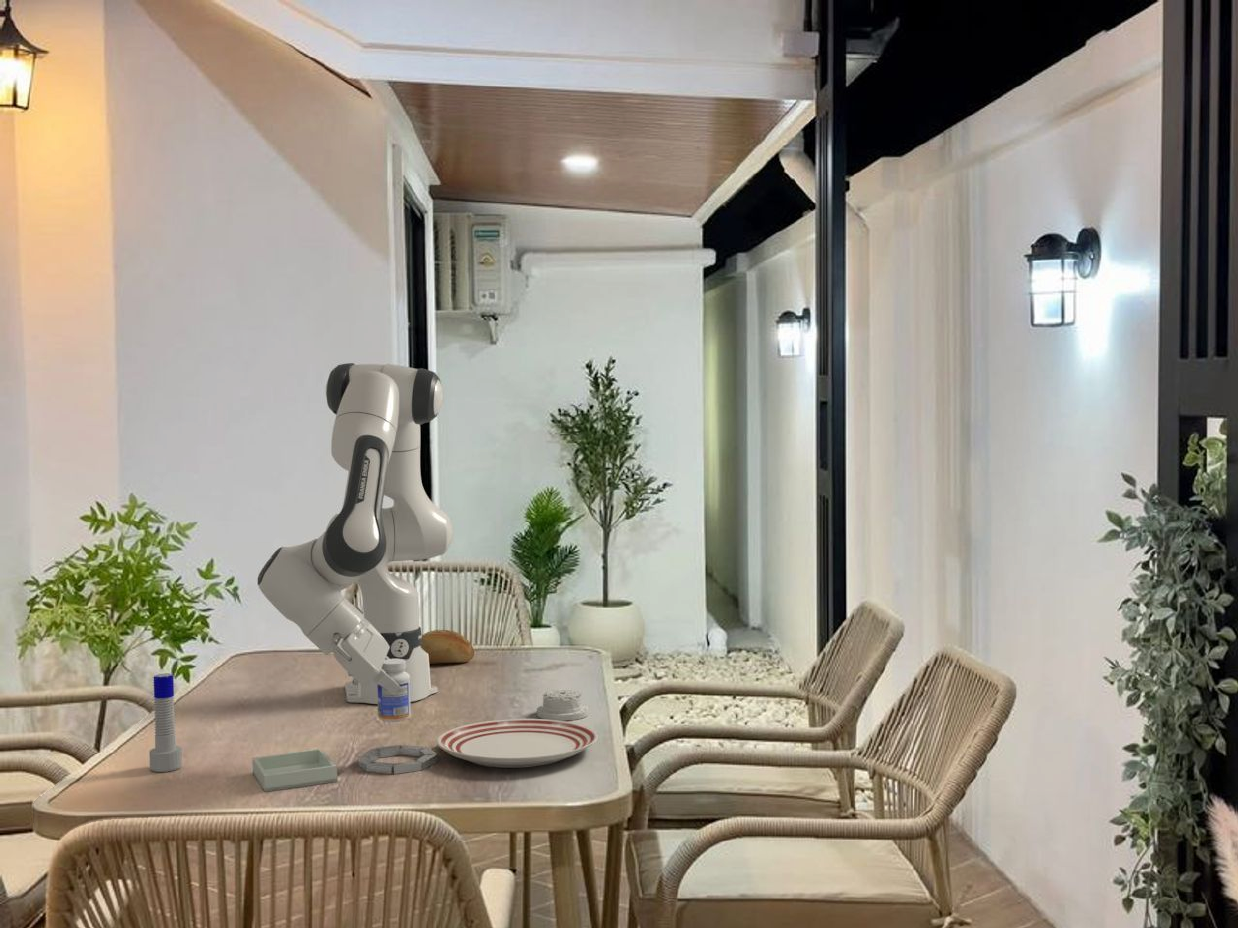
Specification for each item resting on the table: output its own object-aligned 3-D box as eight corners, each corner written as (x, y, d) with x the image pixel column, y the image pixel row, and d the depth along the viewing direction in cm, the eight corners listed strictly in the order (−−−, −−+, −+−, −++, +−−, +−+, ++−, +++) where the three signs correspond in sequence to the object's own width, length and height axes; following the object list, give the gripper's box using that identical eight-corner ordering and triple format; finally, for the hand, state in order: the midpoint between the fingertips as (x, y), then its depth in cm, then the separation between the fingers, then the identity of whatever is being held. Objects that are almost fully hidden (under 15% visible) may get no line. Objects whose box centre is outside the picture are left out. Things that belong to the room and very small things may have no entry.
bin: (252, 772, 197) (252, 757, 197) (321, 763, 202) (321, 748, 202) (264, 791, 187) (264, 775, 187) (337, 781, 192) (336, 765, 192)
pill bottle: (382, 713, 205) (381, 657, 205) (414, 713, 205) (412, 657, 204) (374, 722, 200) (372, 664, 199) (406, 722, 200) (405, 664, 199)
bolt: (145, 773, 198) (155, 764, 203) (177, 772, 198) (185, 763, 203) (143, 678, 197) (152, 672, 202) (174, 677, 197) (183, 671, 202)
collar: (352, 758, 205) (352, 751, 205) (422, 748, 210) (422, 741, 210) (370, 777, 194) (370, 770, 194) (443, 766, 200) (443, 759, 199)
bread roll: (474, 667, 278) (473, 632, 277) (408, 669, 276) (407, 634, 276) (474, 658, 287) (473, 625, 287) (410, 661, 285) (409, 627, 285)
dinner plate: (451, 732, 222) (451, 714, 221) (601, 732, 221) (601, 714, 221) (423, 778, 194) (423, 757, 194) (593, 778, 193) (593, 757, 193)
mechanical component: (530, 721, 229) (581, 723, 227) (530, 698, 229) (581, 700, 227) (544, 708, 239) (593, 710, 237) (544, 686, 239) (593, 688, 237)
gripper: (343, 627, 190) (407, 687, 192) (358, 604, 211) (416, 658, 212) (315, 656, 190) (379, 715, 192) (332, 630, 210) (390, 683, 212)
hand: (398, 685), depth 202 cm, fingers closed on pill bottle, 5 cm apart
